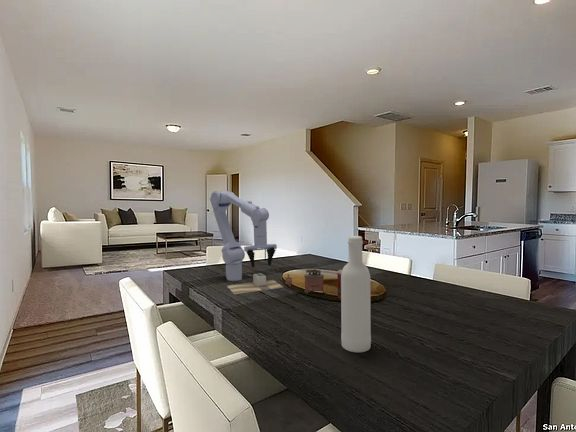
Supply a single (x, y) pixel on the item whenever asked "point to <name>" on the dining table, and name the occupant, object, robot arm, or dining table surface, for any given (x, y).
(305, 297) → the dining table surface
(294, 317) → the dining table surface
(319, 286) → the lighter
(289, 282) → the awl
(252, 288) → the subfloor panel
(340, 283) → the canned food
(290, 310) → the dining table surface
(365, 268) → the bottle
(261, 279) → the block
